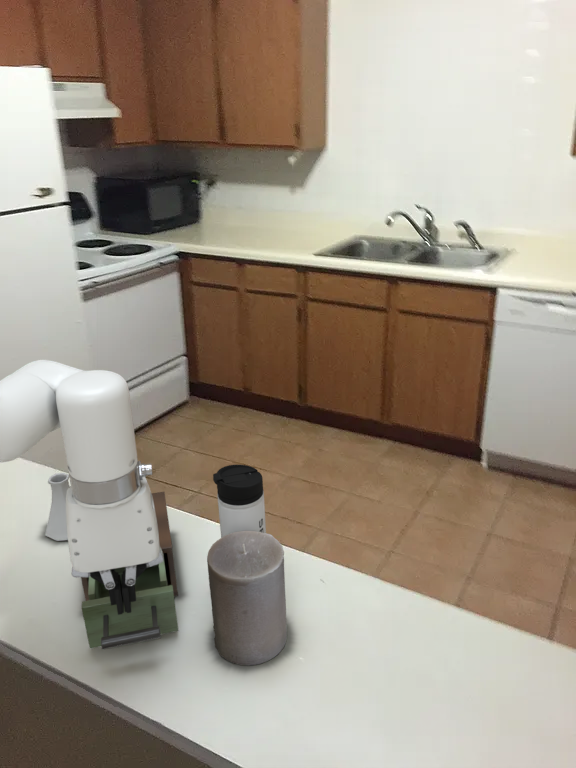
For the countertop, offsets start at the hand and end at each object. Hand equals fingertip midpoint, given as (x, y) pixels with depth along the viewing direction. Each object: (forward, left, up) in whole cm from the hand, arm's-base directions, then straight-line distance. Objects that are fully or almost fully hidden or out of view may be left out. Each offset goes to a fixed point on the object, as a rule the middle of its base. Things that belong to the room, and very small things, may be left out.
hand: (124, 605), depth 82 cm
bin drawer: (0, +6, -8) cm, 10 cm away
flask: (-10, +31, -9) cm, 34 cm away
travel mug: (+16, +8, -9) cm, 20 cm away
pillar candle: (+15, -1, -9) cm, 18 cm away
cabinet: (0, +17, -9) cm, 19 cm away
